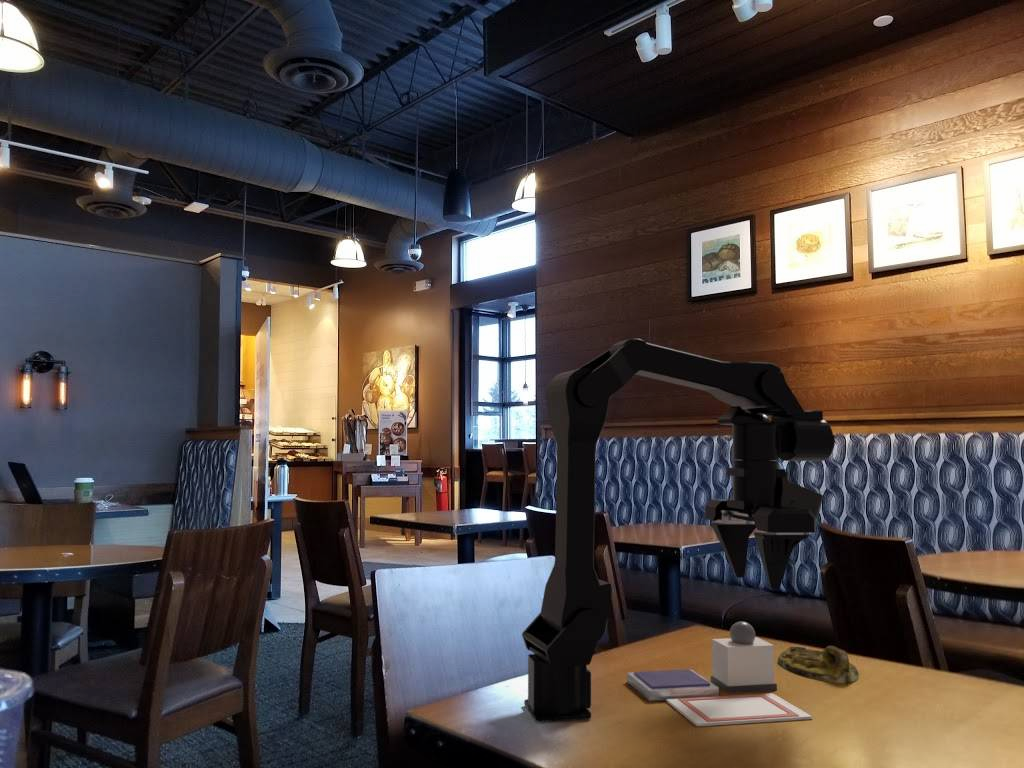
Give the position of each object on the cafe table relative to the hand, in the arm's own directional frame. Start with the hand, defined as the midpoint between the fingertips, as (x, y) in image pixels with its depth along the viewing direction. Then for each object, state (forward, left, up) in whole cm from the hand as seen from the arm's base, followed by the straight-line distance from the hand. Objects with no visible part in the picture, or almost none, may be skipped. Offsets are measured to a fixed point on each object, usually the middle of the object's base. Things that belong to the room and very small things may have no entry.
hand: (756, 583), depth 101 cm
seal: (+14, +9, -14) cm, 21 cm away
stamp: (-1, +3, -14) cm, 14 cm away
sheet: (-6, -6, -13) cm, 16 cm away
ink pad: (-11, +3, -13) cm, 17 cm away
